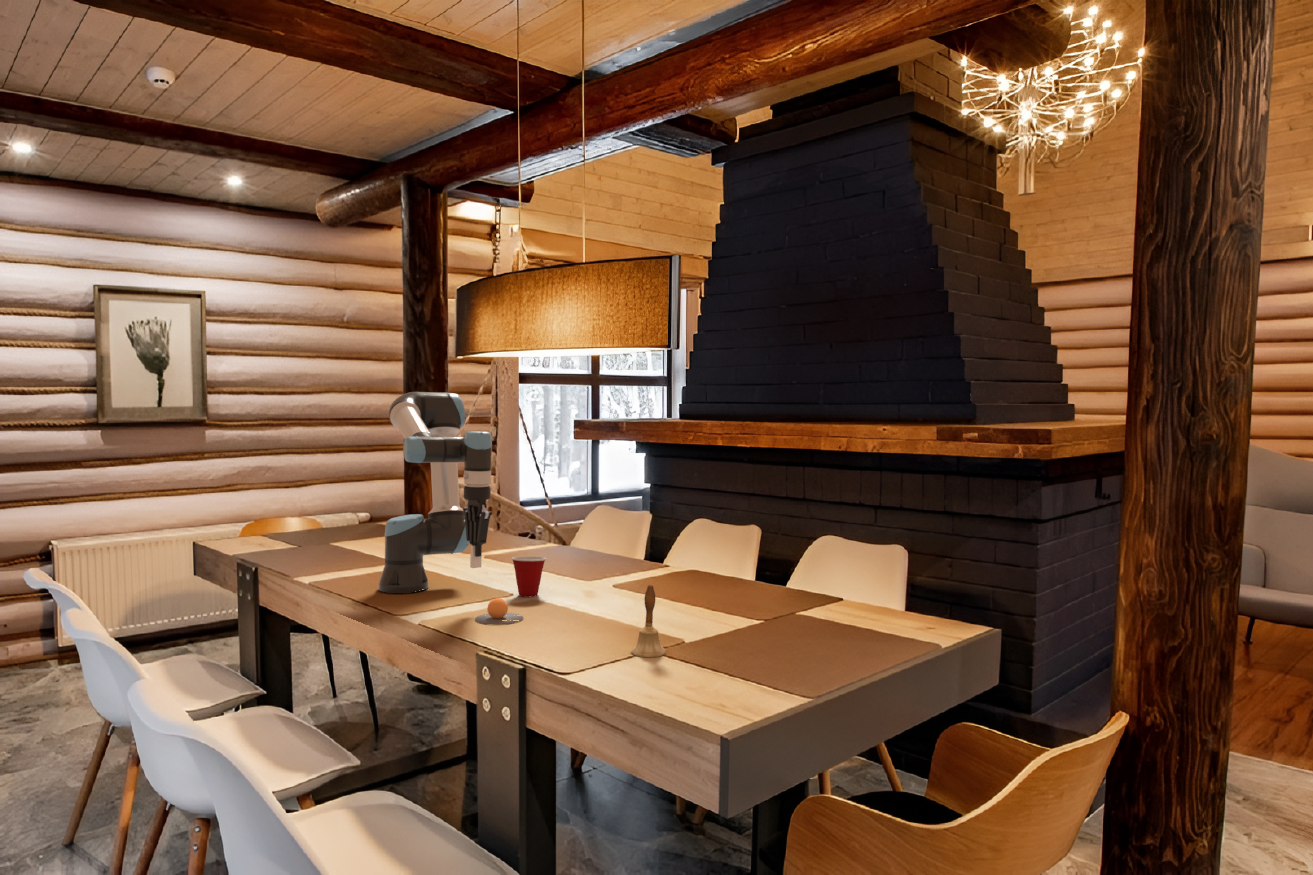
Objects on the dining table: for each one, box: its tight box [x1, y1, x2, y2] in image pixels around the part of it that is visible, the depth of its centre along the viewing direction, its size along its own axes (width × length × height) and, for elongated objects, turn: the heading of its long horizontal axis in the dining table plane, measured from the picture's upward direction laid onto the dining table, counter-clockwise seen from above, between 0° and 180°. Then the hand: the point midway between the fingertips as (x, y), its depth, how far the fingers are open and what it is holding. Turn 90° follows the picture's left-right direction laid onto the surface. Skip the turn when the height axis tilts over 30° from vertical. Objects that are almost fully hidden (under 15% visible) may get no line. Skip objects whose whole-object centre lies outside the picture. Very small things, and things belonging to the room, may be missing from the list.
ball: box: [486, 597, 509, 619], centre depth 222 cm, size 6×6×6 cm
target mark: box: [474, 612, 524, 625], centre depth 221 cm, size 13×13×1 cm
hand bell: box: [630, 584, 667, 658], centre depth 191 cm, size 8×8×16 cm
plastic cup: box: [511, 556, 547, 598], centre depth 252 cm, size 11×11×12 cm
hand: (475, 567), depth 232 cm, fingers closed
